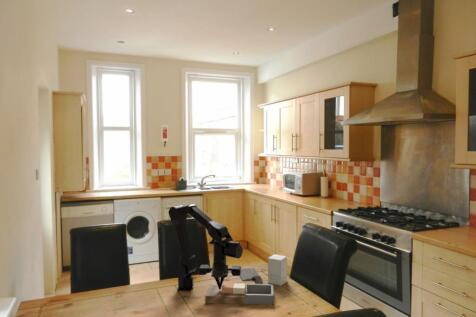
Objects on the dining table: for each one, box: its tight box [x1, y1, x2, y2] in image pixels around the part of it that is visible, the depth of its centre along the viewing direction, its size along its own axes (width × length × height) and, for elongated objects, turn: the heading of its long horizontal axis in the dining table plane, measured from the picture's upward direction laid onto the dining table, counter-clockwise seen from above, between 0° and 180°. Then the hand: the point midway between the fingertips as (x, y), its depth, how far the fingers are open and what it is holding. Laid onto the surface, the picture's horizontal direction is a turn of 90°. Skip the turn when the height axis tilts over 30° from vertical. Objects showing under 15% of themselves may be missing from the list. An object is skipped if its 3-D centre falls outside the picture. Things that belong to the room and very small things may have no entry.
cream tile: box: [233, 282, 246, 294], centre depth 160 cm, size 5×5×2 cm
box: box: [245, 283, 275, 306], centre depth 160 cm, size 12×12×4 cm
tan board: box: [204, 284, 247, 305], centre depth 161 cm, size 17×12×3 cm
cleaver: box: [239, 267, 264, 284], centre depth 182 cm, size 29×10×2 cm, turn 10°
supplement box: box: [267, 253, 288, 287], centre depth 178 cm, size 7×7×13 cm
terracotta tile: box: [222, 282, 235, 293], centre depth 161 cm, size 5×5×2 cm
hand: (219, 289), depth 161 cm, fingers closed
